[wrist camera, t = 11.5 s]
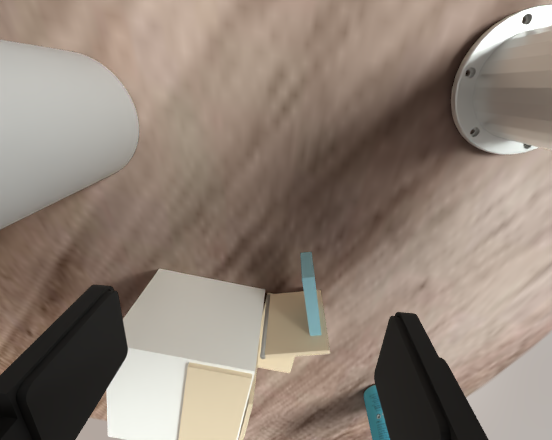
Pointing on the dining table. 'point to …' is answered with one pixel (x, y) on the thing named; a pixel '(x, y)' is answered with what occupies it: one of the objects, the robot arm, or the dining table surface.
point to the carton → (189, 361)
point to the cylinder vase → (58, 126)
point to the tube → (375, 414)
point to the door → (295, 320)
